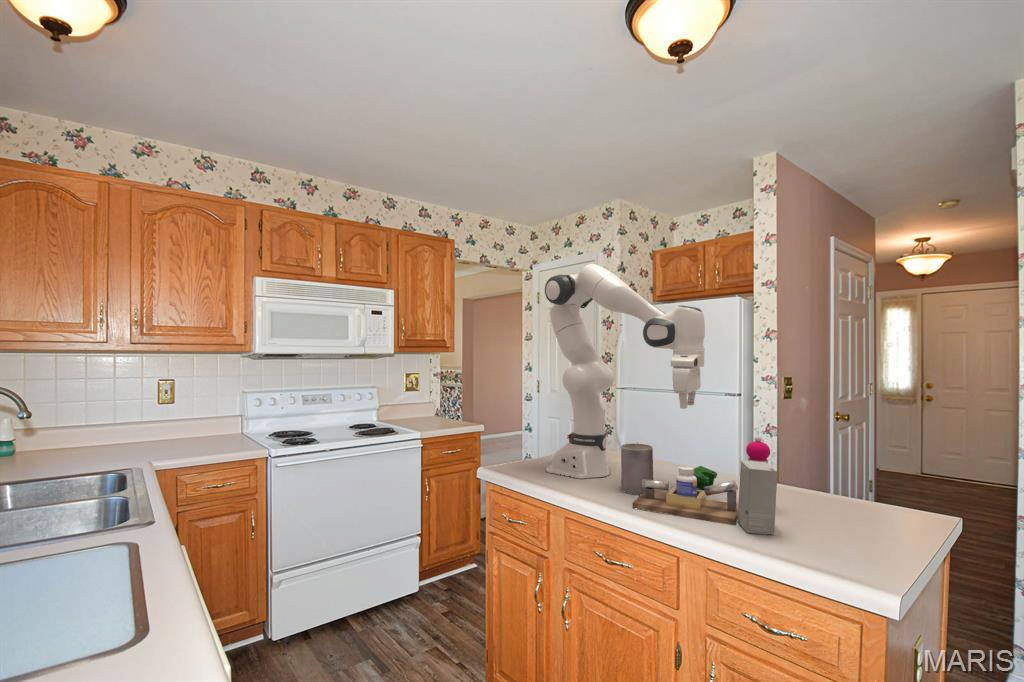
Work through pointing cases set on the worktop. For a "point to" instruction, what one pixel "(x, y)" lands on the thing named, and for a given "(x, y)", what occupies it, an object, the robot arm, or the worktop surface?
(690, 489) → the pill bottle
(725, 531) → the worktop surface
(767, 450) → the pepper mill
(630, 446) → the pillar candle
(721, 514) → the shaft stand
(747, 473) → the skincare box
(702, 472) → the clamp
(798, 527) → the worktop surface
